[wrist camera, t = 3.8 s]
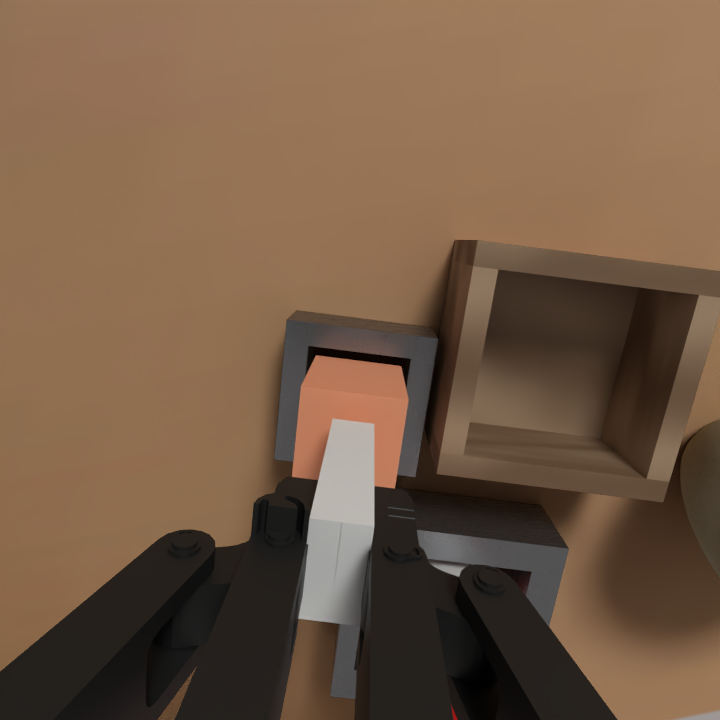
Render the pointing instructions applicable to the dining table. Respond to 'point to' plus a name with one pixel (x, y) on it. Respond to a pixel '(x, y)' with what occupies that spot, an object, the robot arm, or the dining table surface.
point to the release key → (351, 412)
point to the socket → (432, 510)
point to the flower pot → (703, 489)
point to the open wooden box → (567, 368)
